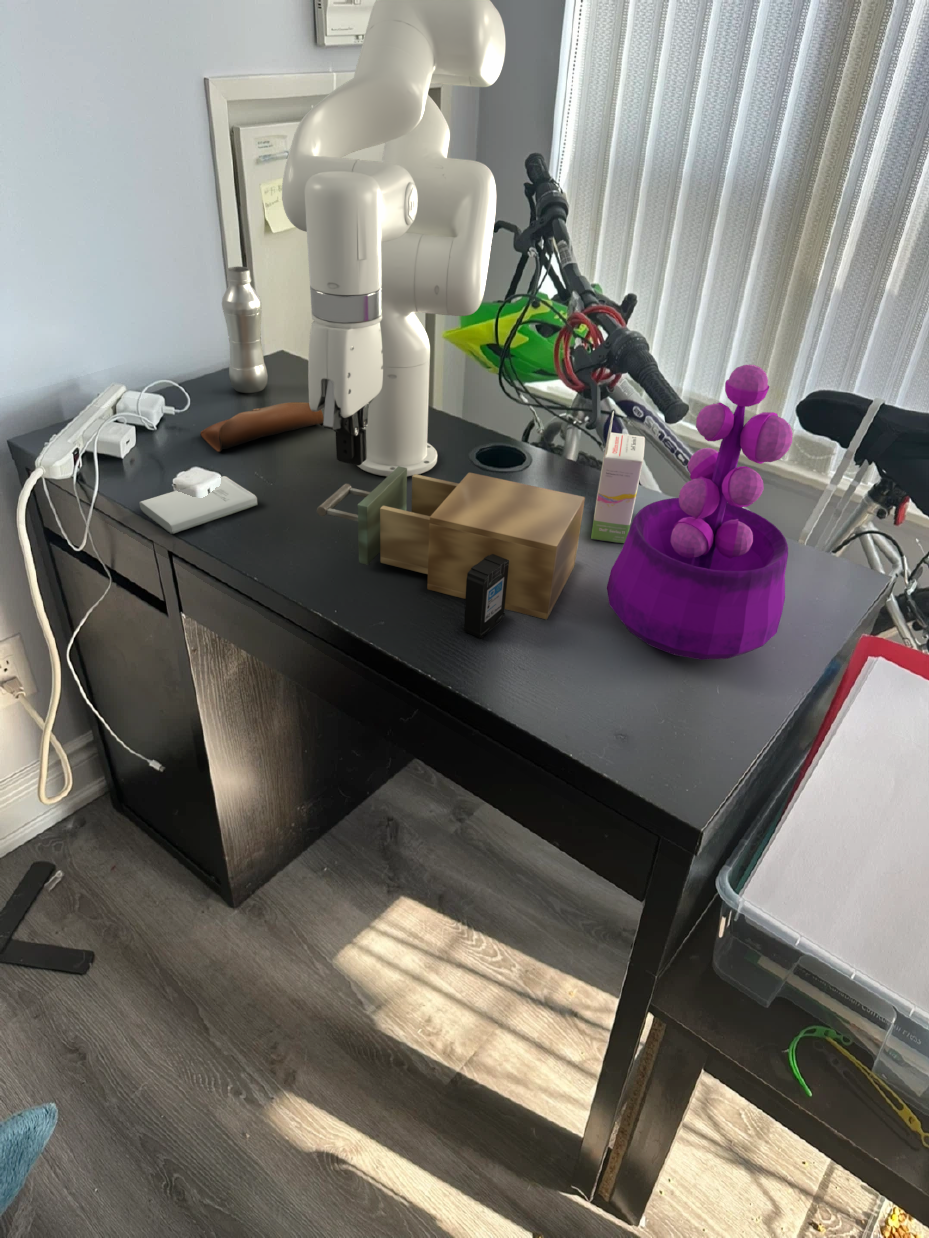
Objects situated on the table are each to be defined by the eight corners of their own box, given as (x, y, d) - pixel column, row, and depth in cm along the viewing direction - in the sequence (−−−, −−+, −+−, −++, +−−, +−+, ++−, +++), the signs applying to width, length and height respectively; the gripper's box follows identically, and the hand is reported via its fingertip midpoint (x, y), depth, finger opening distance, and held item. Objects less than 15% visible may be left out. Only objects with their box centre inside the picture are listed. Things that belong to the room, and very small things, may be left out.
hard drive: (140, 511, 109) (224, 484, 117) (172, 536, 105) (257, 506, 112) (138, 500, 108) (223, 474, 116) (170, 524, 104) (256, 495, 111)
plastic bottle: (224, 395, 143) (210, 272, 132) (239, 382, 149) (227, 262, 137) (260, 399, 143) (249, 276, 131) (274, 386, 148) (265, 266, 137)
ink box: (628, 545, 109) (648, 439, 100) (589, 540, 110) (607, 433, 101) (630, 515, 116) (650, 413, 107) (594, 510, 116) (611, 408, 108)
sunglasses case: (296, 408, 139) (305, 381, 134) (317, 441, 137) (328, 414, 132) (195, 433, 129) (201, 404, 124) (217, 468, 127) (223, 441, 122)
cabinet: (427, 589, 98) (429, 517, 92) (464, 540, 108) (468, 472, 102) (546, 620, 94) (556, 546, 89) (574, 566, 104) (585, 496, 98)
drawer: (309, 550, 102) (305, 492, 97) (351, 510, 111) (350, 455, 106) (464, 589, 97) (468, 530, 92) (495, 544, 106) (500, 488, 101)
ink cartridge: (480, 640, 90) (485, 578, 86) (462, 632, 91) (466, 570, 87) (504, 619, 94) (510, 558, 89) (487, 612, 95) (492, 551, 90)
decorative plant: (766, 598, 100) (845, 348, 83) (777, 696, 85) (876, 416, 68) (608, 572, 103) (653, 325, 86) (593, 662, 88) (643, 386, 71)
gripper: (347, 281, 96) (351, 431, 107) (279, 317, 85) (292, 480, 96) (407, 291, 94) (405, 442, 105) (346, 329, 83) (351, 494, 94)
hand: (351, 460), depth 100 cm, fingers closed
